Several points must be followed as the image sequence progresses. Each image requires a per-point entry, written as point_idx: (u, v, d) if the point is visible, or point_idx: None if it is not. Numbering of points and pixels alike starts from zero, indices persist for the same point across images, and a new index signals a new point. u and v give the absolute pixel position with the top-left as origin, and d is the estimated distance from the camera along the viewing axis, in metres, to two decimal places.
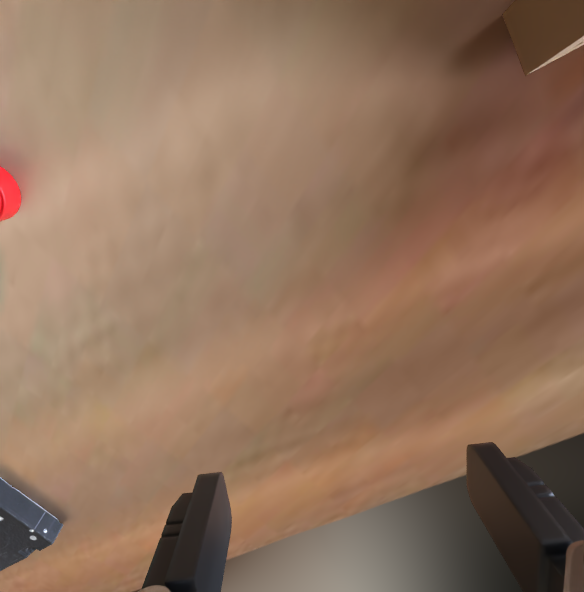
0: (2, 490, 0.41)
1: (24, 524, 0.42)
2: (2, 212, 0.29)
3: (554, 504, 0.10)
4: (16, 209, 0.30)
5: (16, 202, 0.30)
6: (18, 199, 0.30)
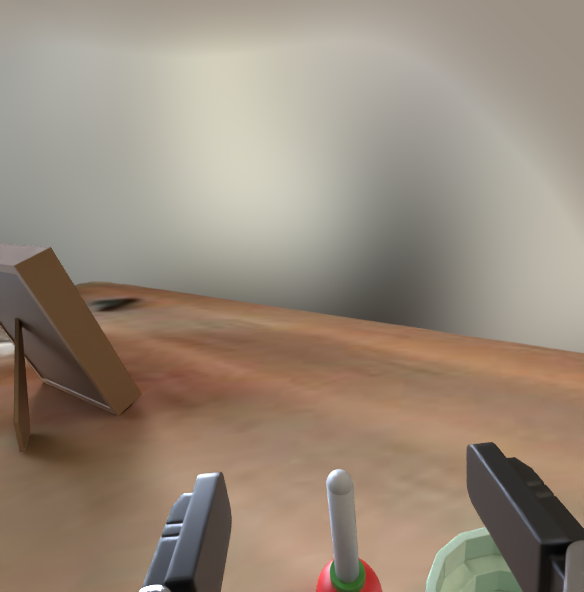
0: None
1: None
2: None
3: (554, 504, 0.10)
4: None
5: None
6: None
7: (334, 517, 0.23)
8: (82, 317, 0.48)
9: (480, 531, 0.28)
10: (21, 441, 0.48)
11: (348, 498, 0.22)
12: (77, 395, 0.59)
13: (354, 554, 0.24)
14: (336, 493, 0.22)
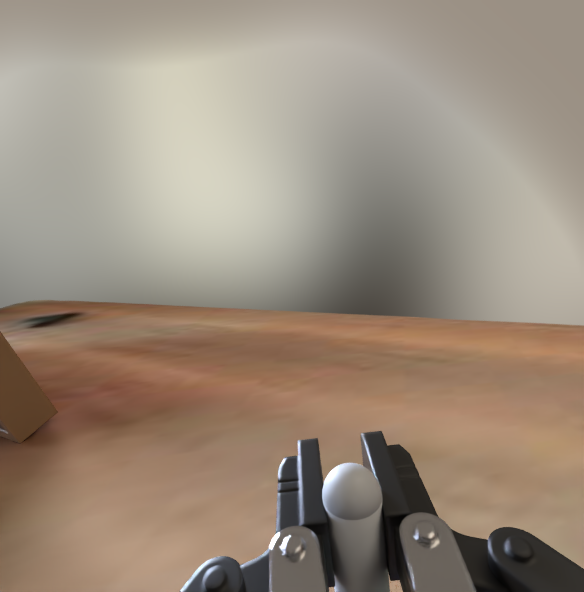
0: None
1: None
2: None
3: (416, 484, 0.11)
4: None
5: None
6: None
7: (343, 575, 0.10)
8: None
9: None
10: None
11: (373, 527, 0.10)
12: None
13: None
14: (347, 516, 0.10)
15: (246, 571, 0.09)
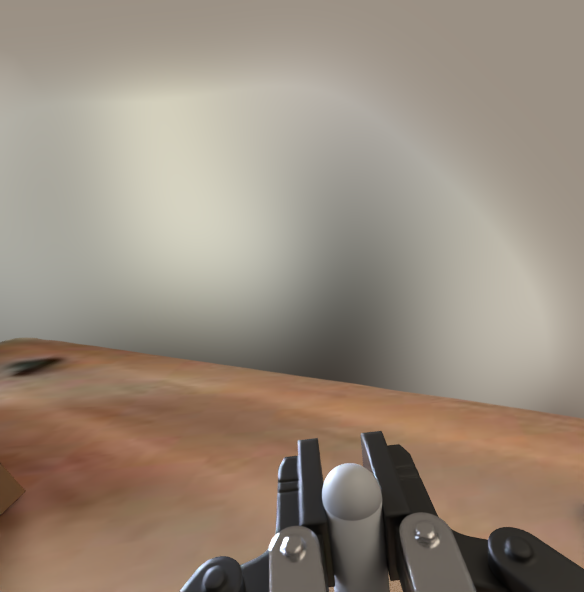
0: None
1: None
2: None
3: (416, 484, 0.11)
4: None
5: None
6: None
7: (343, 575, 0.10)
8: None
9: None
10: None
11: (373, 527, 0.10)
12: None
13: None
14: (347, 517, 0.10)
15: (246, 571, 0.09)
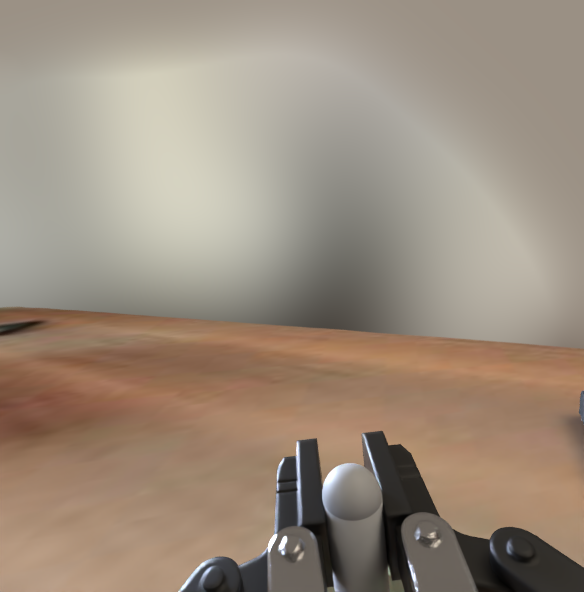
0: None
1: None
2: None
3: (417, 484, 0.11)
4: None
5: None
6: None
7: (344, 575, 0.10)
8: None
9: None
10: None
11: (373, 527, 0.10)
12: None
13: None
14: (347, 517, 0.10)
15: (244, 571, 0.09)
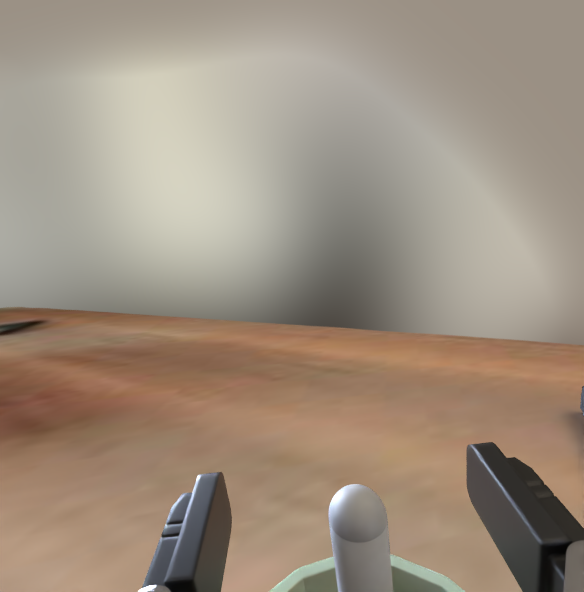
0: None
1: None
2: None
3: (554, 504, 0.10)
4: None
5: None
6: None
7: None
8: None
9: (328, 563, 0.19)
10: None
11: (379, 549, 0.10)
12: None
13: None
14: (354, 539, 0.10)
15: None
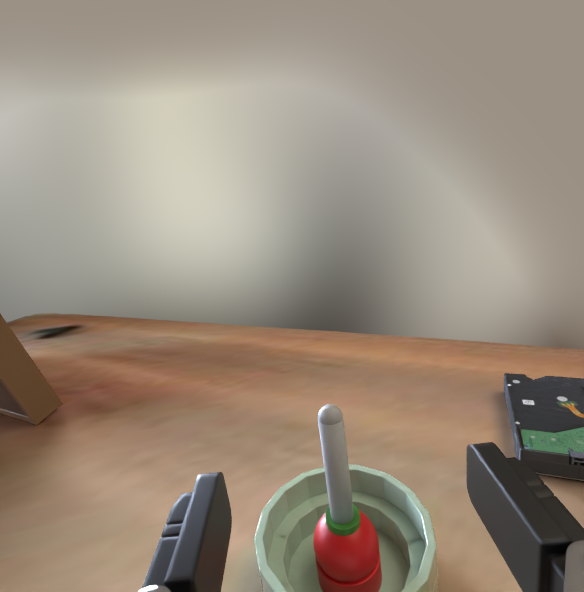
0: (511, 421, 0.40)
1: (508, 389, 0.44)
2: None
3: (554, 504, 0.10)
4: None
5: None
6: None
7: (327, 451, 0.24)
8: None
9: (320, 469, 0.32)
10: None
11: (338, 428, 0.24)
12: None
13: (348, 491, 0.25)
14: (328, 424, 0.24)
15: None
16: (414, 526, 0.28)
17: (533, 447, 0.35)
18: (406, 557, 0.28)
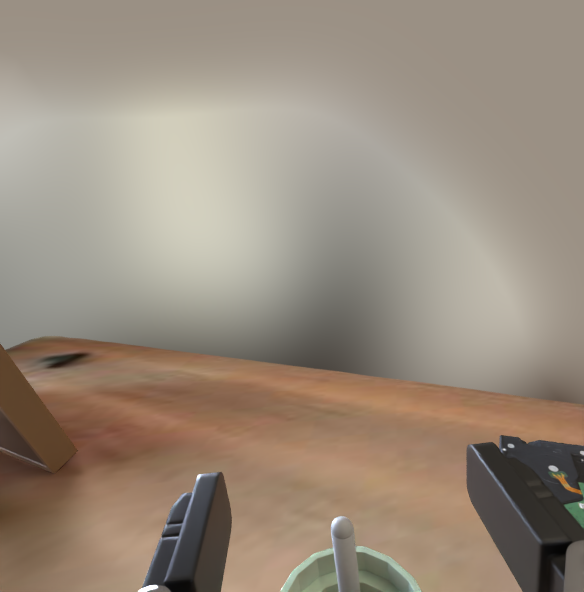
0: None
1: None
2: None
3: (554, 504, 0.10)
4: None
5: None
6: None
7: (339, 559, 0.27)
8: (17, 385, 0.54)
9: (329, 550, 0.35)
10: None
11: (350, 541, 0.26)
12: (16, 456, 0.63)
13: None
14: (340, 538, 0.26)
15: None
16: None
17: None
18: None
